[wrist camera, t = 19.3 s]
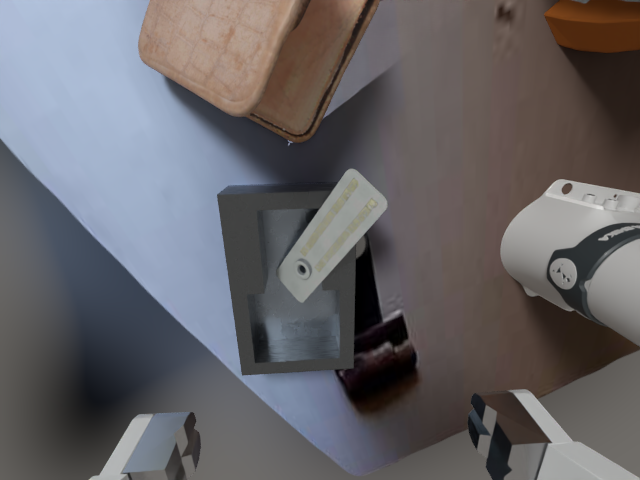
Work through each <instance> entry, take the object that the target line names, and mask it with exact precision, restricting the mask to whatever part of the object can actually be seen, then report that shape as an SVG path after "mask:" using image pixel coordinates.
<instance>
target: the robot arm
mask: <svg viewBox="0 0 640 480" xmlns="http://www.w3.org/2000/svg"><path fill="white" fill-rule="evenodd" d="M567 183H570V184H571V185H572V190H571V191H570V193H568V194H566V195H563V194H562V192H561V189H562V187H563V186H564V185H565V184H567ZM615 194H617V197H616V198H614V197H613V196H614V195H615ZM501 260H502V263H503V266H504V268H505V269H506V271H507V272H508V273H509V274H510V275H511V276H512V277H513V278H514V279H515V280H517V281H518V282H519V283H520V284H521V285H522V286H523V288H524V290H525V292H526V293H527V295H529V296H538V295H539V296H541V297H543V298H544V299H546V300H548V301H550V302H552V303H553V304H555V305H557V306H559V307H561V308H562V309H564V310H567V311H572V310H576V312H578V313H579V314H580V315H582V316H584V317H585V318H587V319H589V320H592V321H594V322H595V323H597V324H599V325H602V326H607V327H610V328H611V329H613V330H614V331H616V332H617V333H619V334H621V335H622V336H624V337H625V338H627V339H628V340H630V341H632V342H633V343H635V344H636V345H638V346H639V347H640V194H639V193H634V192H628V191H623V190H618V189H612V188H607V187H602V186H596V185H591V184H585V183H580V182H574V181H569V180H563V179H560V180H557V181H555V182H554V183H553V184H552V185H551V186H550V187H549V188H548V189H547V190H546V192H545V193H544V194H543V195H542V196H541V197H540V198H538V199H537V200H536V201H534V202H533V203H531V204H530V205H528V206H527V207H526V208H525V209H523V210H522V211H521V212H520V213H519V214H518V215H517V216H516V217H515V218H514V219H513V220H512V222H511V223H510V225H509V226H508V228H507V230H506V231H505V234H504V236H503V239H502V243H501ZM471 404H472V406H473V408H474V409H473V410H472V411H471V412H470V413H469V414H468V422H467V423H468V429H469V434H470V437H471V440H472V442H473V444H474V446H475V448H476V450H477V451H478V452H479V453H480V454H482V455H483V456H484V457H486V458H487V461H486V469H487V471H488V472H489V474H490V476H491V478H492V480H640V478H639V477H637V476H635V475H634V474H632V473H630V472H628V471H627V470H625V469H624V468H622V467H620V466H619V465H617V464H615V463H614V462H612V461H610V460H609V459H607V458H605V457H604V456H602V455H600V454H599V453H597V452H595V451H594V450H592V449H590V448H589V447H587V446H586V445H584V444H582V443H580V442H573V441H572V440H571V438H570V437H569V436H568V435H567V434H566V433H565V431H564V430H563V429H562V428H561V427H560V426H559V424H558V423H557V422H556V421H555V420H554V419H553V417H552V416H551V415H550V414H549V413H548V412H547V411H546V409H545V408H544V407H543V406H542V405H541V404H540V403H539V401H538V400H537V399H536V398H535V397H534V395H533V394H532V393H531V392H529V391H528V390H526V389H523V390H509V391H506V390H505V391H492V392H480V393H474V394H473V395H472V398H471ZM195 423H196V419H195V415H194V413H193V412H184V413H158V414H140V415H137V416H136V417H135V418H134V419H133V420H132V422H131V423H130V425H129V427H128V428H127V430H126V432H125V433H124V435H123V437H122V438H121V440H120V442H119V443H118V445H117V447H116V449H115V450H114V452H113V454H112V455H111V457H110V459H109V460H108V462H107V463H106V465H105V467H104V468H103V470H102V472H101V473H100V475H99V476H93V477H92V478H90V479H89V480H187V479H188V478H189V477H190V476H191V475H192V474H193V473H194V472H195V471H196V467H197V464H198V461H199V456H200V449H201V442H200V434H199V432H198V431H197V430H195V429H194V426H195Z"/></svg>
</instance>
